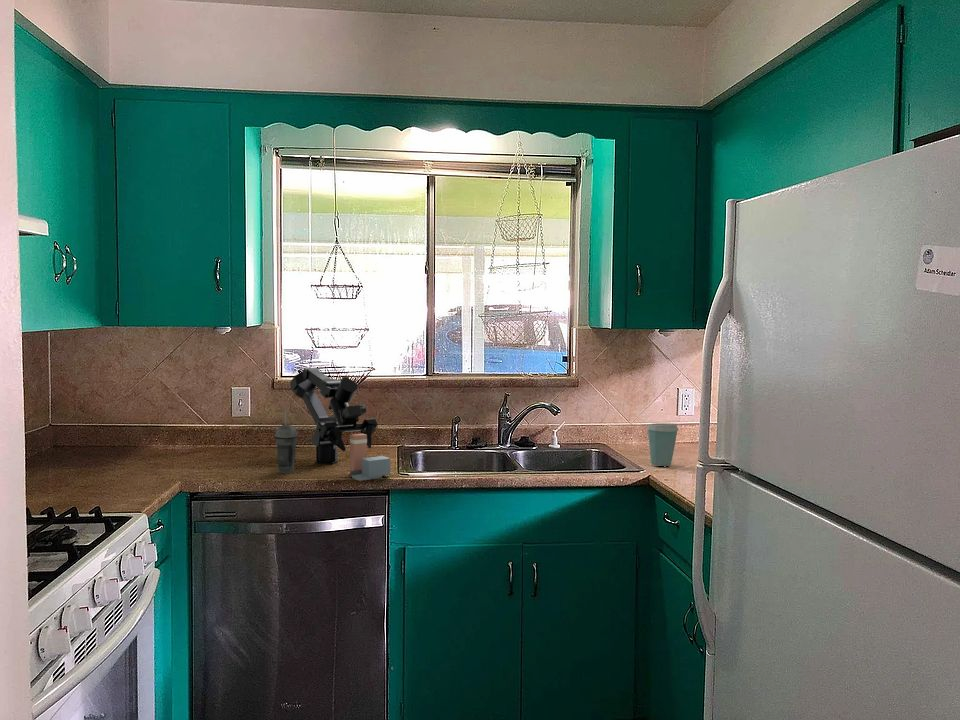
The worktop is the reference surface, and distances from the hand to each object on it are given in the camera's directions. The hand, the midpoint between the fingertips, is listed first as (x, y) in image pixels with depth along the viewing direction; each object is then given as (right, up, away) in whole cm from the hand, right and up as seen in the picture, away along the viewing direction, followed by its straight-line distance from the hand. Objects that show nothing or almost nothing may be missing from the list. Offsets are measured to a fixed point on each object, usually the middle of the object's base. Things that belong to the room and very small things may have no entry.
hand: (357, 449), depth 250 cm
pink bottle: (0, -8, 0) cm, 8 cm away
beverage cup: (-24, -8, +3) cm, 25 cm away
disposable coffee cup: (+103, -8, +21) cm, 105 cm away
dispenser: (+5, -9, -4) cm, 10 cm away
